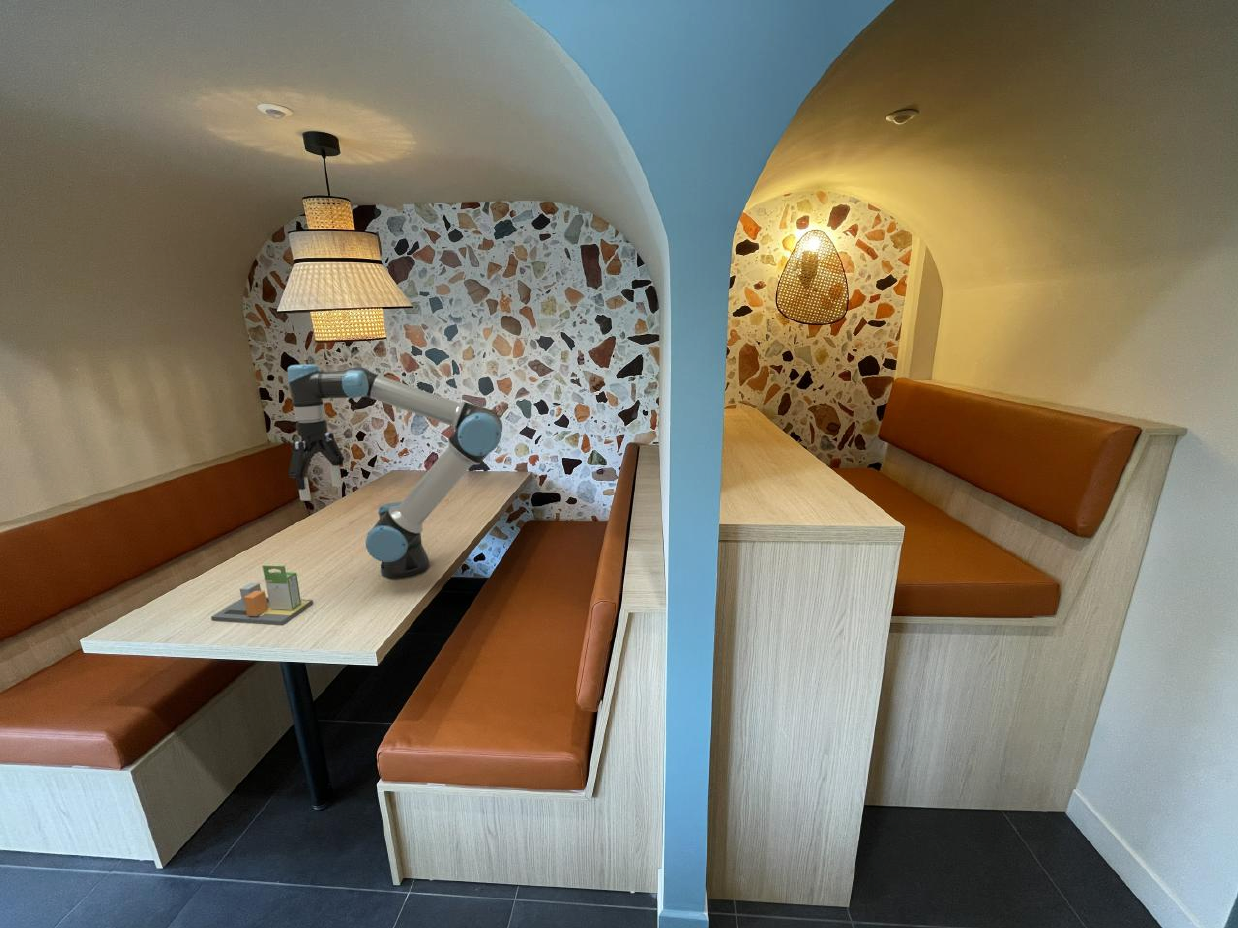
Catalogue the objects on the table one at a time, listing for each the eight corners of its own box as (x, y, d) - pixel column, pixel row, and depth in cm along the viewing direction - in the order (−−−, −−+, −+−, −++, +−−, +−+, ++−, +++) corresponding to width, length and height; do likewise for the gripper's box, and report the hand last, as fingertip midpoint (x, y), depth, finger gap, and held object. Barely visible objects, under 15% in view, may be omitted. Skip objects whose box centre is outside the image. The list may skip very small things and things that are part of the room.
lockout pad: (282, 599, 159) (282, 599, 159) (310, 601, 157) (310, 600, 157) (261, 613, 151) (261, 613, 151) (290, 615, 150) (290, 614, 150)
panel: (246, 599, 162) (243, 582, 160) (313, 603, 159) (310, 585, 157) (211, 620, 150) (207, 601, 149) (282, 625, 147) (279, 606, 146)
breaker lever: (258, 608, 153) (255, 590, 152) (268, 608, 153) (264, 591, 151) (247, 615, 149) (243, 597, 148) (256, 616, 149) (253, 597, 148)
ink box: (302, 603, 156) (294, 560, 152) (292, 610, 152) (284, 566, 149) (280, 602, 157) (272, 559, 153) (269, 609, 153) (261, 565, 150)
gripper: (328, 413, 165) (338, 481, 170) (264, 428, 141) (278, 506, 146) (350, 413, 164) (360, 481, 169) (290, 428, 140) (303, 506, 145)
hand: (322, 493), depth 157 cm, fingers open, 13 cm apart
